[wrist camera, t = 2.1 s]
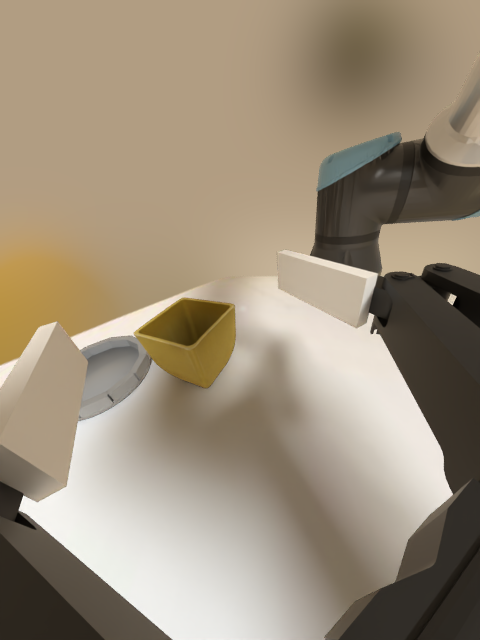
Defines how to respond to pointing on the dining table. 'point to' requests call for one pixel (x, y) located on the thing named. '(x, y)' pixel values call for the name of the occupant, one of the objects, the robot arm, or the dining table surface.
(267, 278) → the dining table surface
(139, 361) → the grey saucer
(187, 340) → the flower pot
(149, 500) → the dining table surface
